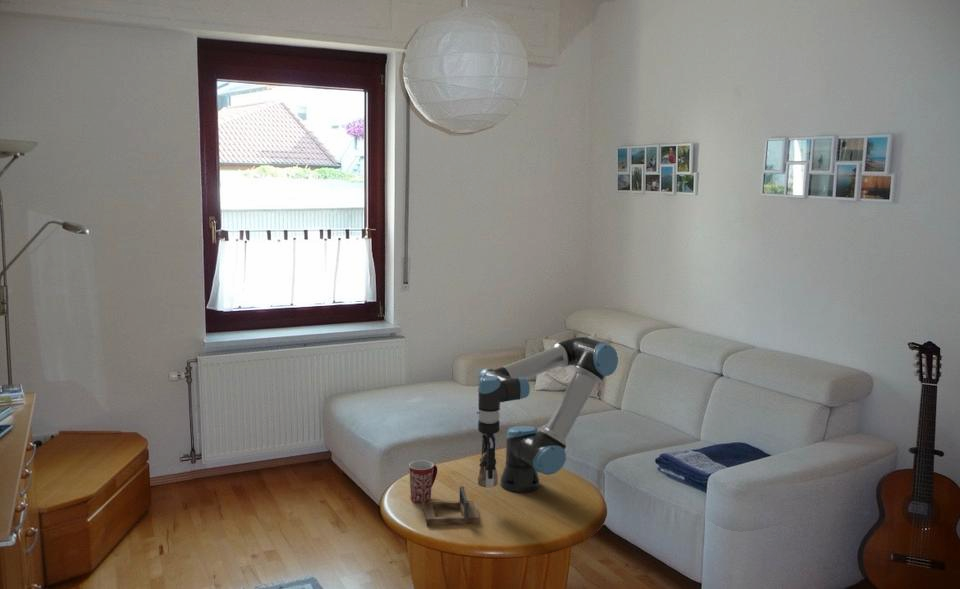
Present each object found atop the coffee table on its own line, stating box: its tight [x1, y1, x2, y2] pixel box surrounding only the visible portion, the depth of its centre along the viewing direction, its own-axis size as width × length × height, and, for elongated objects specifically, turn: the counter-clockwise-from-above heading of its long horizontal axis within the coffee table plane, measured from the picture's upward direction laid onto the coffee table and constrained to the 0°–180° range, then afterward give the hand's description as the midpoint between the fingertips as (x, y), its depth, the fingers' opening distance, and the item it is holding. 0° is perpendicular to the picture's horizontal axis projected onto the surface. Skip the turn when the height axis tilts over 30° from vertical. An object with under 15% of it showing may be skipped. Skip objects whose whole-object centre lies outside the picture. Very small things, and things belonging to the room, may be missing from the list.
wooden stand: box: [422, 486, 480, 527], centre depth 278 cm, size 18×14×8 cm
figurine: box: [477, 452, 499, 488], centre depth 283 cm, size 7×7×12 cm
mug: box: [408, 459, 438, 505], centre depth 292 cm, size 13×9×14 cm
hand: (487, 481), depth 284 cm, fingers closed on figurine, 7 cm apart
